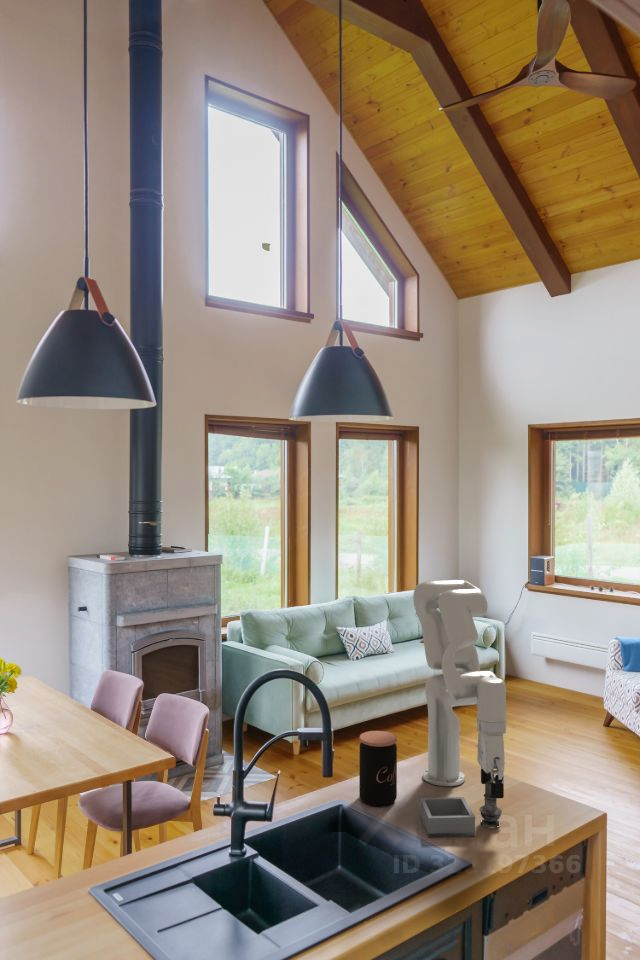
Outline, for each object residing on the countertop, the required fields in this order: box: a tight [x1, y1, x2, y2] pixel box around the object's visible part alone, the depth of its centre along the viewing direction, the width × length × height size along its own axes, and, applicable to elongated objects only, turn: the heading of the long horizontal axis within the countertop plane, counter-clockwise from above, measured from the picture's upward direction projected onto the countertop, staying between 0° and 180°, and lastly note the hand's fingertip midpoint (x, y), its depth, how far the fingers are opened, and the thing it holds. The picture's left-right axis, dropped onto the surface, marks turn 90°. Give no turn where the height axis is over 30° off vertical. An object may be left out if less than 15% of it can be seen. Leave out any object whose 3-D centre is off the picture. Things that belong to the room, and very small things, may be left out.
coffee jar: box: [358, 730, 398, 808], centre depth 218 cm, size 11×11×18 cm
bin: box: [419, 796, 476, 839], centre depth 202 cm, size 12×12×5 cm
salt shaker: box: [478, 779, 503, 828], centre depth 204 cm, size 6×6×12 cm
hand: (492, 790), depth 203 cm, fingers open, 9 cm apart
